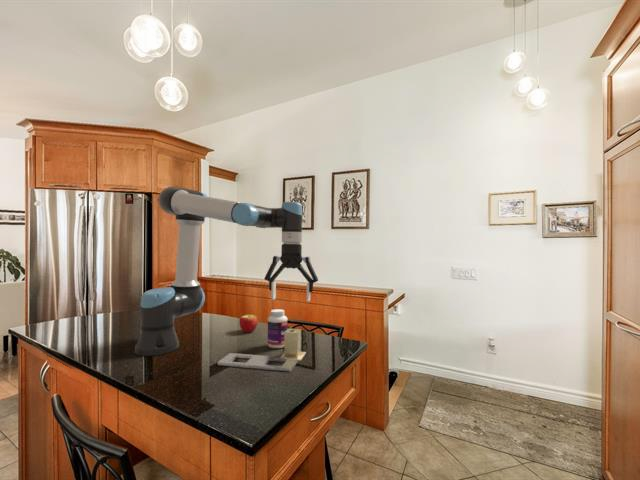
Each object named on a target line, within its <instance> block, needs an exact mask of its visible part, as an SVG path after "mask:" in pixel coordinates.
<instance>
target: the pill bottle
mask: <svg viewBox="0 0 640 480" xmlns="http://www.w3.org/2000/svg"><path fill="white" fill-rule="evenodd" d="M288 320H289V319H288V317H287V316H286V315H285V310H284V309H281V308H280V309H277V308H276V309H271V310H270V316H268V318H267V346H268V347H269V348H271V349H283V348H284V335H285V331H286V330H288V322H289V321H288Z"/></svg>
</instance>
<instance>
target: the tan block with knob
mask: <svg viewBox="0 0 640 480" xmlns="http://www.w3.org/2000/svg"><path fill="white" fill-rule="evenodd" d="M283 348H284V350H283V353H284V357H291V358H298V357H299V355H300V354H301V352H302V329H301V328H299V329H298V328H287V330H286V331H285V335H284V347H283Z"/></svg>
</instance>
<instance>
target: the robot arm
mask: <svg viewBox="0 0 640 480" xmlns="http://www.w3.org/2000/svg"><path fill="white" fill-rule="evenodd" d="M158 205H159V208H160V209H162V211H163V212H165V213H166V214H168V215H172V216H175V221H176V222H177V223H178V237H177V248H176V249H177V251H176V266H175V277H174V278H175V279H174V281H172V283H171V284H170V286H169V287H168V286H164V287H156V288H152V289H149V290H146V291H145V292H143V293H142V294H141V299H140V305H139V306H140V332H139V335H138V338H137V340H136V344H135V347H134V353H135V354H136V355H138V356H144V357H148V356H149V357H150V356H159V355H164V354H167V353H168V354H169V353H171V352H174V351H175V350H177V349H178V348H179V345H180V344H179V342H180V341H179V338H178V335H177V333H176V330H175V319H176V318H179V317H183V316H187V315H192V314H193V313H196V312H198V311H200V309H201V308H202V307H203V306H204V304H205V301H206V295H205V292H204V289H203V288H202V287H201V283H200V282H199V281H198V267H199V254H200V252H199V251H200V240H201V239H200V237H201V226H202V225H203V224H204V223H205V221H206V220H205V219H206V218H208V219H214V220H217V221H223V222H230V223H234V224H238V225H239V226H245V227H256V228H260V229H266V228H267V229H269V228H270V229H273V228H275V229H277V228H279V229H280V228H281V243H282V244H281V253H280V254H281V255H280V256H278V255H274V256H273V257H272V262H271V264H270V266H269V268H268V270H267V272H266V274H265V276H264V279H263V280H265V281H267V282H268V284H269V285H268V286H269V287H268V289H269V291H270V292H271V293H270V294H271V299H270V300H271V301H272V300H273V301H274V300H276V296H277V295H276V294H277V293H276V291H277V289H276V288H277V287H276V286H277V281H275V280H276V279H277V277H278V276H279V275H280V274H281V273H282V272H283V270H284V269H285V268H286V269H297V270H298V271H299V272H300V273H301V275H302V276H303V277H304V278H305V280H306V281H307V282H308V283H306V302H307V303H308V302H310V301H311V293H313V291H314V283H317V282H318V281H319V278H318V276H317V274H316V271H315V269H314V267H313V266H312V264H311V257H310V256H304V257H303V256H302V253H303V252H302V251H303V250H302V249H303V247H302V244H301V243H302V241H303V239H302V237H303V236H302V235H303V234H302V233H303V230H302V229H303V228H302V227H303V206H302V204H301V203H300V202H298V201H285V202H284V201H283V202H282V204H281V207H274V208H273V207H265V206H261V205H256V204H252V203H247V202H240V201H239V202H238V201H234V200H233V201H232V200H227V199H223V198H221V199H220V198H216V197H211V196H207V194H206V193H204V192H201V191H198V190H195V189H191V188H190V189H188V188H183V187H180V186H168V187H166V188H164V189H162V190H161V192H160V194H159V195H158ZM302 261H303V263H304V264H305V265H306V267H307V269H308V271H309V273H308V272H307V270H305V268H304V267H303V265H302V264H301V263H302ZM278 262H281V264H280V266H279V267H278V269H277V270H276V271H275V272H274V270H275V268H276V266H277V264H278ZM273 272H274V273H273ZM309 274H310V275H309Z"/></svg>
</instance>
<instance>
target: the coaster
mask: <svg viewBox="0 0 640 480" xmlns="http://www.w3.org/2000/svg"><path fill="white" fill-rule="evenodd" d="M306 354H307V352H306V351H301V354H300V355H299V357H298V362H302V360H303V358H304V357H305V356H306ZM280 357H284V352H283V353H282V354H281V356H280ZM286 358H291V357H286Z"/></svg>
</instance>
